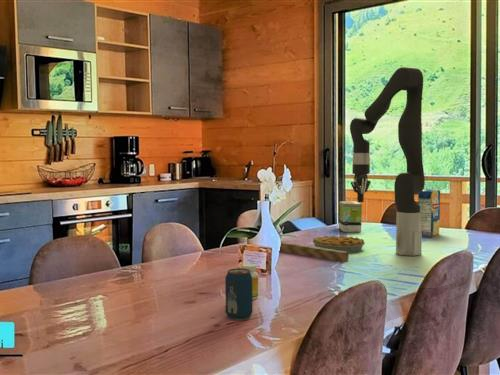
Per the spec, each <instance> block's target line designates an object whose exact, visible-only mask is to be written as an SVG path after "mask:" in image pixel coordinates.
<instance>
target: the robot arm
mask: <svg viewBox="0 0 500 375" xmlns="http://www.w3.org/2000/svg"><path fill="white" fill-rule="evenodd" d="M423 88H424V74H423V72H422V70H420V68H417V67H409V66H401V67H398V68H397V69H396V70H395V71H394V72H393V74H392V75H391V76H390V78H389V80H388V81H387V83H386V84H385V86H384V87H383V89H382V90H381V92H380V94H379V95H378V96H377V98H376V99H375V100H374V101H373V102H372V103H371V104H370V105H369V106H368V107H367V108H366V110H365V111H364V117H354V118H352V120H351V121H350V125H349V130H350V135H351V140H352V144H353V152H352V174H353V175H354V177H353V181H350V185H351V188H352V190H353V192H354V193H356V195H357V199H356V200H357V202H359V203H364V197H365V195H364V194H366V193H367V192H368V189H369V188H370V185H371V183H372V182H371V180H369V179H368V178H369V177H368V175H369V174H371V173H370V171H371V169H370V168H371V157H370V147H371V146H370V140H367V139H365V138H364V136H363V135H369V134H370V133H372V132H373V131H374V130H375V128H376V126H377V124H378V122H379V121H380V119H381V118H383V116H384V115H385V114H386V113H387V112H388V111H389V109H390V107H391V104H392V100H393V98H394V97H395V96H396V95H397V94H398V93H399V92H401V91H406V104H405V106H404V110H403V112H402V114H401V115H400V118H399V121H398V124H397V126H398V127H397V134H398V137H397V138H398V143H399V146H400V148H401V150H402V152H403V155H404V157H405V161H406V172H405V171H404V172H400V173H399V174H398V175H396V178H395V180H394V185H393V186H394V188H393V191H394V204H395V207H396V219H395V220H396V224H395V225H396V229H395V230H396V231H395V236H396V237H395V239H396V240H395V254H396V255H400V256H411V257H412V256H413V257H416V256H419V255H422V249H423V248H422V245H423V244H422V242H423V241H422V238H423V236H422V231H420V205H419V204H418V202H416V201H415V195H418V194H419V193H421V192H422V191H423V190H425V189H424V188H425V186H426V183H425V182H426V181H425V178H426V177H425V173H424V172H425V171H424V162H423V125H422V103H423V102H422V100H423V91H424V90H423Z"/></svg>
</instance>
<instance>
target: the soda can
mask: <svg viewBox="0 0 500 375" xmlns="http://www.w3.org/2000/svg"><path fill="white" fill-rule="evenodd" d="M224 283H225V287H224V288H225V293H224V294H225V296H224V297H225V305H224V306H225V307H224V308H225V310H224V311H225V314H226V316H227V317H228V319H229V318H230V320H232V319H235V320H234V321H244V320H243V319H246V320H249V319H250V318H251V317H252V314H253V310H254V309H253V307H254V306H253V301H254V300H253V278H252V275H251V273H250V270H248V269H243V268H242V267H241V268H239V267H238V268H237V267H235V268H230V269H228V270H227V273H226V275H225V281H224ZM249 317H250V318H249Z"/></svg>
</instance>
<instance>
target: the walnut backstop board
mask: <svg viewBox="0 0 500 375" xmlns="http://www.w3.org/2000/svg"><path fill="white" fill-rule="evenodd" d="M279 252H283V253H287V254H293V255H299V256H306V257H310V258H311V257H313V258H318V259H324V260H330V261H336V262H341V263H345V262H349V253H348V252H346V251H340V250H333V249H327V248H320V247H315V245H314V246H313V245H306V244H300V243H292V242H288V241H287V242H286V241H281V247H280V251H279Z"/></svg>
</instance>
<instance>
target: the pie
mask: <svg viewBox="0 0 500 375" xmlns="http://www.w3.org/2000/svg"><path fill="white" fill-rule="evenodd" d="M312 243H313V245H314V247H320V248H327V249H333V250H340V251H346V252H348V254H349V253H357V252H360V251H362V249H363V247H364V245H366V244H365V240H364V239H363V238H359V237H353V236H345V235H340V236H336V235H331V236H327V235H323V237H322V236H318V237H314V238H313V240H312Z"/></svg>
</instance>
